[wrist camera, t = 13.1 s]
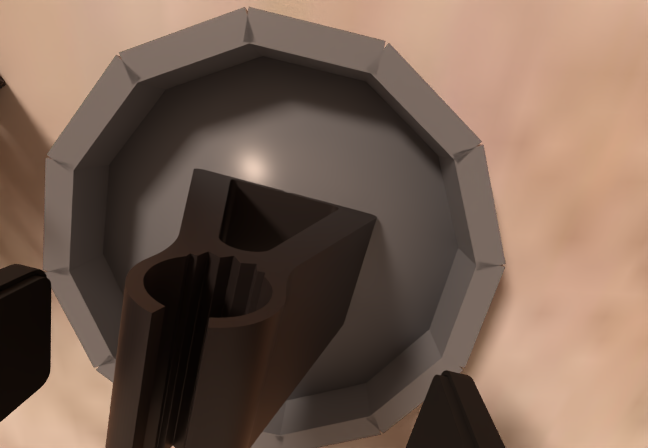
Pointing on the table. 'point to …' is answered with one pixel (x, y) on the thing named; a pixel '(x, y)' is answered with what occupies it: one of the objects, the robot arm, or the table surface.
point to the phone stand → (231, 314)
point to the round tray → (292, 177)
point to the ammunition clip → (1, 83)
